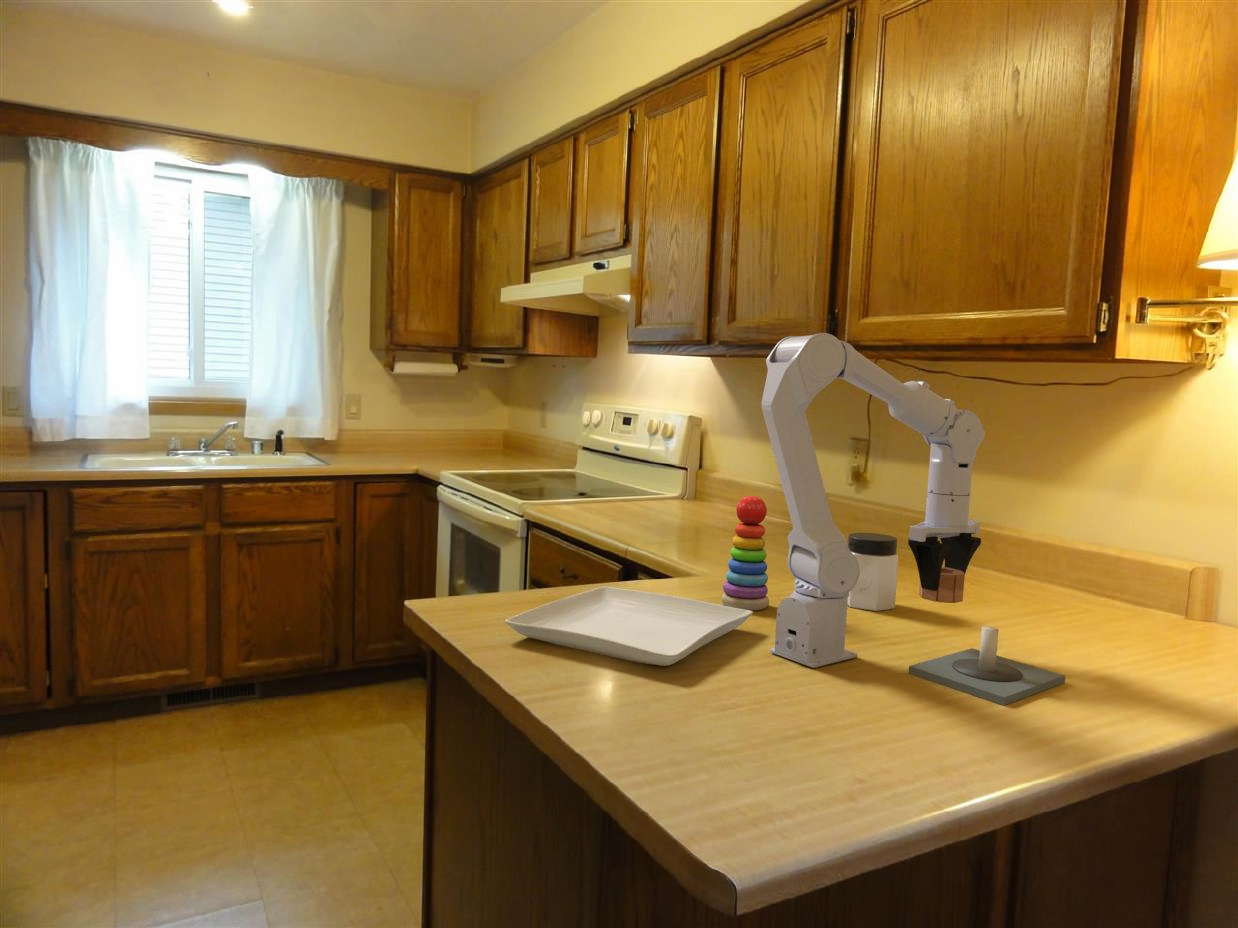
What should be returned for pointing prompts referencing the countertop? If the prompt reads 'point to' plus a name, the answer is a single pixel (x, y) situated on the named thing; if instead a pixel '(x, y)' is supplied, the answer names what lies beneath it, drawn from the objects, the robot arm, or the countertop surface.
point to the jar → (874, 571)
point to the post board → (987, 673)
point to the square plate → (629, 624)
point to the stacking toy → (748, 559)
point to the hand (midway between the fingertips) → (941, 586)
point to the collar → (946, 587)
